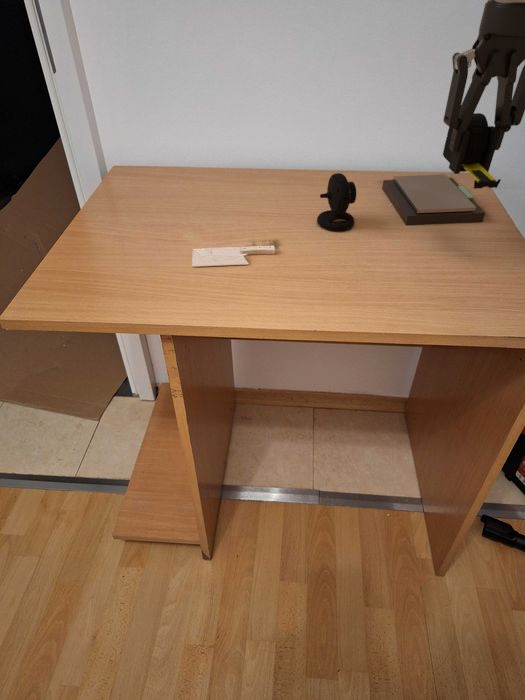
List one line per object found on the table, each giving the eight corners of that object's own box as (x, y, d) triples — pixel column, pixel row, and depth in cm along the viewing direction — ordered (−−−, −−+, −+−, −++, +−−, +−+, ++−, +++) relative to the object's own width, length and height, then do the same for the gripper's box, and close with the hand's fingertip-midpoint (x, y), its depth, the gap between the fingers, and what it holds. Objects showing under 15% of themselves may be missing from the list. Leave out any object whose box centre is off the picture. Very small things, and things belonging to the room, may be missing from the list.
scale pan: (444, 177, 110) (445, 174, 109) (475, 211, 97) (476, 207, 96) (392, 179, 109) (393, 176, 108) (416, 213, 96) (417, 209, 96)
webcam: (360, 229, 96) (367, 180, 89) (324, 234, 94) (329, 184, 88) (345, 212, 101) (351, 165, 95) (311, 217, 100) (315, 168, 93)
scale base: (449, 186, 112) (452, 174, 110) (482, 221, 98) (486, 209, 96) (382, 188, 111) (383, 177, 109) (405, 225, 97) (408, 213, 96)
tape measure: (441, 156, 87) (451, 108, 81) (465, 155, 87) (477, 107, 82) (472, 189, 76) (486, 136, 70) (499, 188, 76) (516, 135, 71)
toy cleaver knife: (276, 263, 86) (276, 258, 85) (192, 267, 86) (191, 262, 85) (274, 249, 90) (274, 243, 89) (193, 252, 89) (192, 247, 89)
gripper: (560, -5, 69) (506, 159, 85) (443, -3, 68) (410, 164, 83) (592, 1, 63) (528, 176, 79) (465, 3, 62) (426, 181, 78)
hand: (468, 169), depth 81 cm, fingers closed on tape measure, 4 cm apart
